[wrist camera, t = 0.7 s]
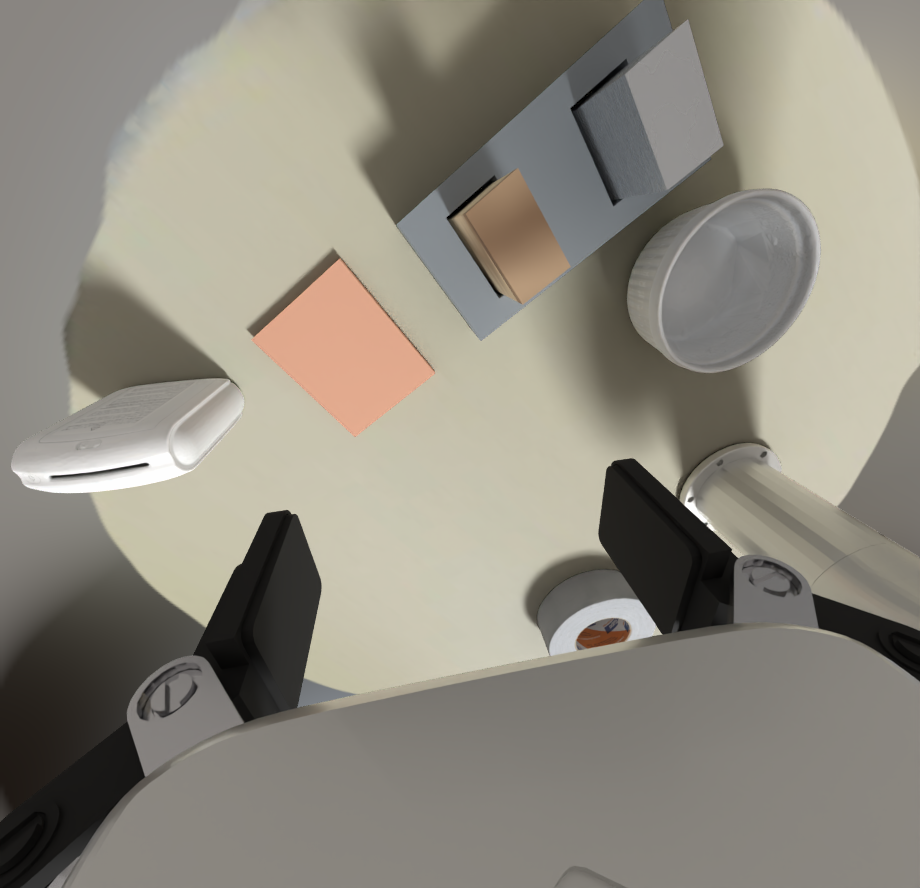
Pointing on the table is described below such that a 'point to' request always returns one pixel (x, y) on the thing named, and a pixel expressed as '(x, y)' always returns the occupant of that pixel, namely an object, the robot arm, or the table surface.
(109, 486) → the photo printer
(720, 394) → the table surface
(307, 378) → the mat
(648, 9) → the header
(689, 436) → the table surface
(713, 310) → the ramekin
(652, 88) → the steel plug
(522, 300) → the beech plug
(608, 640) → the tape roll
